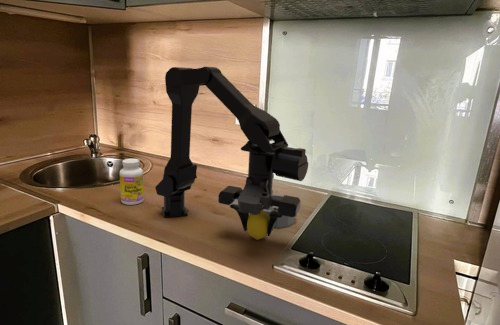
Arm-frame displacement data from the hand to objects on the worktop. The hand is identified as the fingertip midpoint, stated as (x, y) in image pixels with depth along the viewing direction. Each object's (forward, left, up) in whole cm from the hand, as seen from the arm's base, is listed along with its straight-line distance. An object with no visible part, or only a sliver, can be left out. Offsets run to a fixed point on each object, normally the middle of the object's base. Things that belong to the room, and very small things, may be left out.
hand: (257, 233), depth 78 cm
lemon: (0, 0, -2) cm, 2 cm away
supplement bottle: (-32, -28, -2) cm, 43 cm away
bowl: (-11, +9, -2) cm, 14 cm away
